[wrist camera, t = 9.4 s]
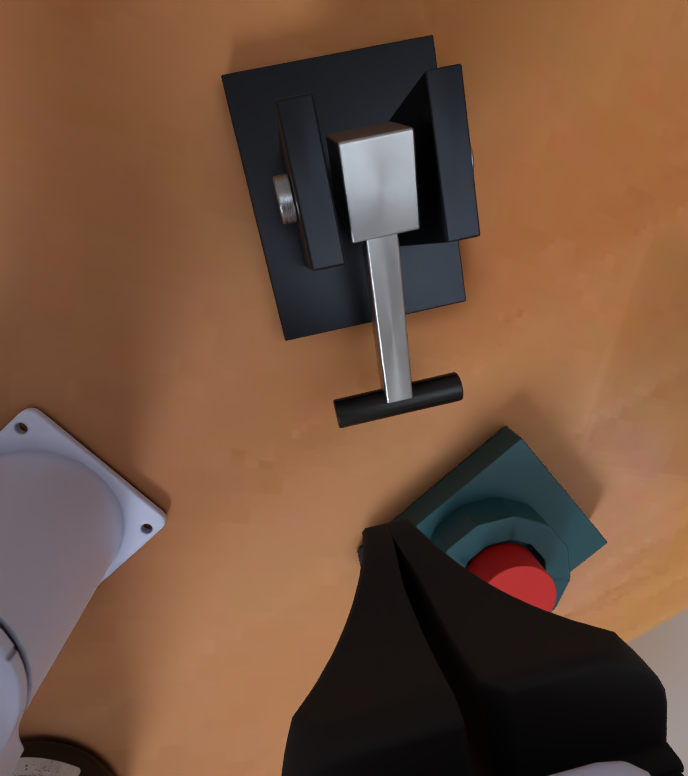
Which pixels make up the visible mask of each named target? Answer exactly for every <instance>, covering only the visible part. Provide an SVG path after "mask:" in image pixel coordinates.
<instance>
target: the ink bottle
mask: <svg viewBox="0 0 688 776" xmlns="http://www.w3.org/2000/svg"><path fill="white" fill-rule="evenodd" d="M22 746H23V748H24V751H23V752H22V754H21V756H20V758H19V760H18V762H17V764H16V765H15V767H14V769H13V771H12V773H11V775H10V776H112V774H111V773H110V772H109V771H108V769H107V768H106V767H105V766H104V765H103V764H102V763H101V762H99V761H98V760H97V759H96V758H94V757H93V756H91V755H90V754H88V753H86V752H85V751H83V750H81V749H78V748H76V747H74V746H71V745H67V744H64V743H59V742H53V741H30V742H22Z"/></svg>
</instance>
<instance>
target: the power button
mask: <svg viewBox="0 0 688 776" xmlns="http://www.w3.org/2000/svg"><path fill="white" fill-rule="evenodd" d="M466 569H467V570H469V571H470V572H472V573H473V574H475V575H476V576H478V577H479V578H481V579H482V580H484V581H486V582H487V583H489V584H491V585H492V586H494V587H496V588H498V589H499V590H501V591H503V592H505V593H507V594H509V595H511V596H513V597H516V598H518V599H520V600H522V601H524V602H526V603H528V604H531V605H533V606H535V607H538V608H540V609H543V610H545V611H548V612H551V611H552V609H553V607H554V604H555V601H556V587H555V584H554V581H553V579H552V578H551V577H550V575H549V574H548V573H547V572H546V570H545V569H544V568H543V567H542V565H541V564H540V563H539V562H538V561H537V559H536V558H535V557H534V556H533V554H532V553H531V552H530V551H529V550H528V549H526V548H525V547H523V546H521V545H518V544H515V543H498V544H494V545H491V546H489V547H487V548H485V549H483V550H482V551H480V552H479V553H478V554H477V555H475V556H474V558H473V559H472V560H471V561H470V563H469V564H468V566H467V568H466Z"/></svg>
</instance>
